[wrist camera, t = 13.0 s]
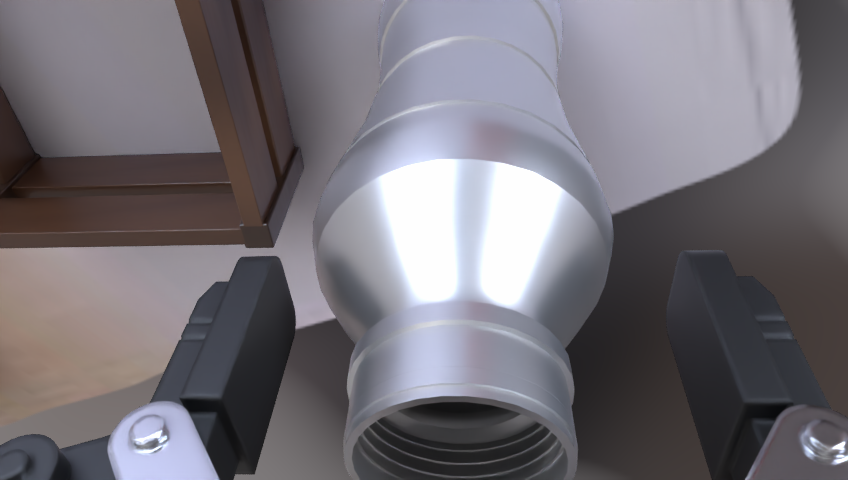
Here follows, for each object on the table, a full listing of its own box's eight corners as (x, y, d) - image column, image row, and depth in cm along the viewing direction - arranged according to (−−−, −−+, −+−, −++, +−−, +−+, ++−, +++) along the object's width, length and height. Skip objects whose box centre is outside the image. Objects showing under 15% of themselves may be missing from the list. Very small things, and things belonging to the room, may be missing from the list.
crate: (-185, -220, 22) (-361, -203, 17) (212, -255, 21) (137, -247, 16) (27, 175, 32) (-49, 253, 27) (304, 167, 31) (274, 248, 26)
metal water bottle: (559, 76, 27) (672, 558, 12) (401, 97, 28) (310, 565, 13) (551, -91, 23) (707, 301, 8) (368, -59, 24) (178, 342, 9)
